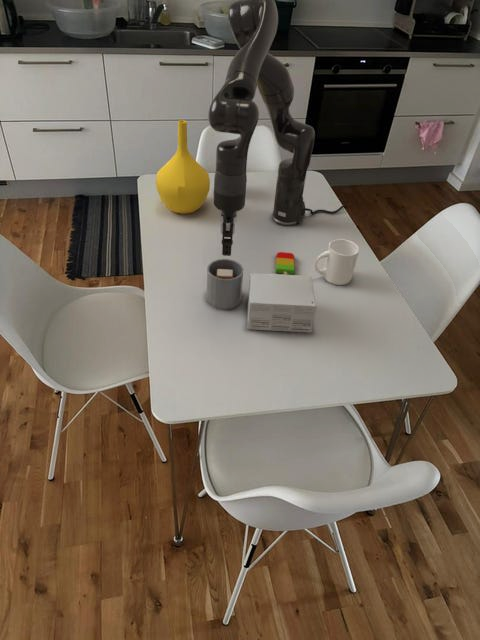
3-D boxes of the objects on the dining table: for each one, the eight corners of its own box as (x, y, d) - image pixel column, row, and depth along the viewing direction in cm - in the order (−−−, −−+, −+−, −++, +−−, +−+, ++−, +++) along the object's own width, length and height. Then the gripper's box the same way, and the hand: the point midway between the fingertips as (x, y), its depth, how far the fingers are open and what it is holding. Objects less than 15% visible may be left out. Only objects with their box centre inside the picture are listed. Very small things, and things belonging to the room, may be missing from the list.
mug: (308, 269, 154) (314, 239, 146) (346, 268, 155) (353, 238, 148) (315, 286, 147) (322, 256, 140) (354, 285, 149) (363, 255, 142)
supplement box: (307, 302, 142) (312, 275, 135) (311, 333, 132) (317, 306, 125) (247, 298, 141) (249, 271, 135) (247, 329, 131) (249, 302, 125)
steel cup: (241, 288, 144) (243, 259, 138) (240, 310, 137) (243, 281, 130) (207, 286, 144) (208, 257, 137) (205, 308, 137) (206, 278, 130)
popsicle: (293, 257, 158) (294, 252, 157) (294, 286, 147) (295, 281, 145) (276, 256, 158) (276, 251, 157) (275, 284, 147) (276, 279, 145)
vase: (219, 206, 179) (223, 121, 160) (186, 226, 168) (185, 137, 148) (180, 189, 187) (179, 107, 167) (146, 207, 175) (140, 121, 156)
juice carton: (231, 293, 141) (233, 269, 136) (231, 301, 139) (233, 276, 133) (215, 292, 141) (216, 268, 136) (215, 300, 139) (216, 275, 133)
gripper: (246, 202, 113) (241, 262, 124) (246, 174, 124) (241, 231, 134) (212, 200, 113) (210, 260, 123) (215, 172, 123) (213, 230, 134)
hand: (227, 245), depth 129 cm, fingers open, 8 cm apart
